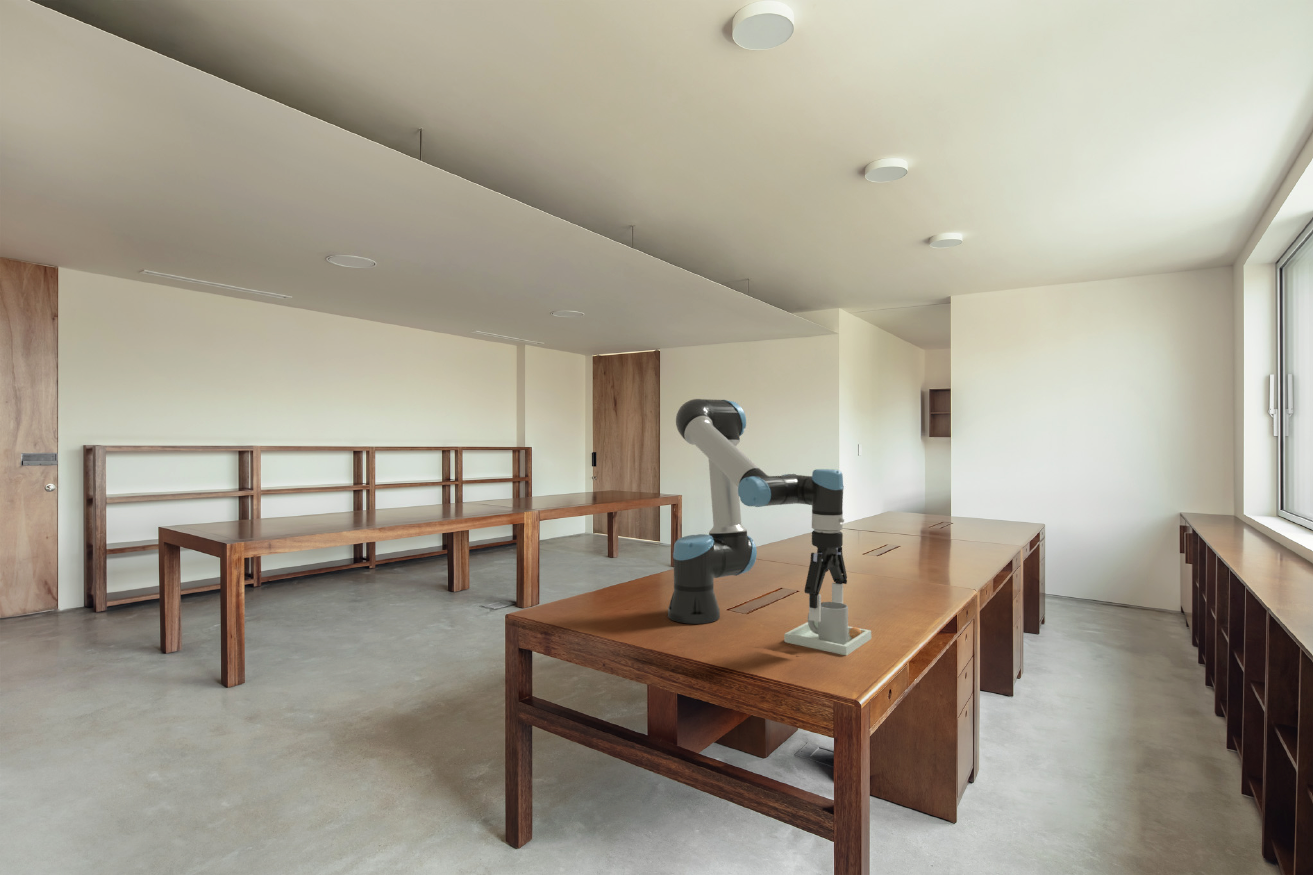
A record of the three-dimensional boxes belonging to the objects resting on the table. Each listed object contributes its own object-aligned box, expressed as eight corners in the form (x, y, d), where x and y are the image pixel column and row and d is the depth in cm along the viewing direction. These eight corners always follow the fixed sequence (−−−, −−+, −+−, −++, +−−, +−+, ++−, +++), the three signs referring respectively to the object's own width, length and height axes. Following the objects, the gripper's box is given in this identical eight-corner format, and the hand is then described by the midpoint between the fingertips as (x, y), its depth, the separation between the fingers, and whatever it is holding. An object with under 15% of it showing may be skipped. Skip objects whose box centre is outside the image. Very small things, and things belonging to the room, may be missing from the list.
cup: (845, 647, 148) (844, 610, 149) (804, 641, 153) (803, 605, 153) (850, 639, 155) (850, 603, 155) (811, 633, 160) (811, 599, 160)
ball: (847, 639, 155) (847, 627, 155) (851, 636, 157) (851, 624, 157) (858, 641, 153) (858, 629, 153) (863, 638, 155) (863, 626, 155)
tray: (784, 645, 153) (784, 633, 153) (812, 630, 165) (812, 619, 165) (846, 659, 143) (846, 646, 143) (871, 642, 155) (871, 630, 155)
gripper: (820, 538, 143) (819, 629, 143) (860, 526, 162) (859, 606, 162) (790, 534, 147) (789, 622, 147) (833, 523, 167) (832, 601, 167)
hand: (826, 614), depth 155 cm, fingers open, 13 cm apart
